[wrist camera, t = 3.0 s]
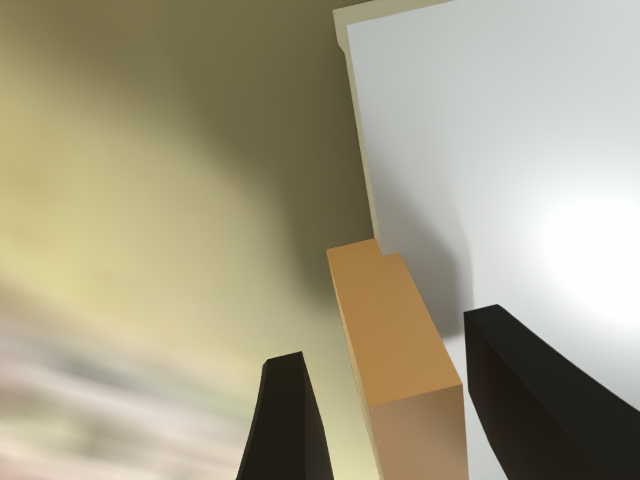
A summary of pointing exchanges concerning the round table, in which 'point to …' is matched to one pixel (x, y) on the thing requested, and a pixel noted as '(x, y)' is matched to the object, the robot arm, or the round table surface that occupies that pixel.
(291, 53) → the round table surface
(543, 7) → the lid
